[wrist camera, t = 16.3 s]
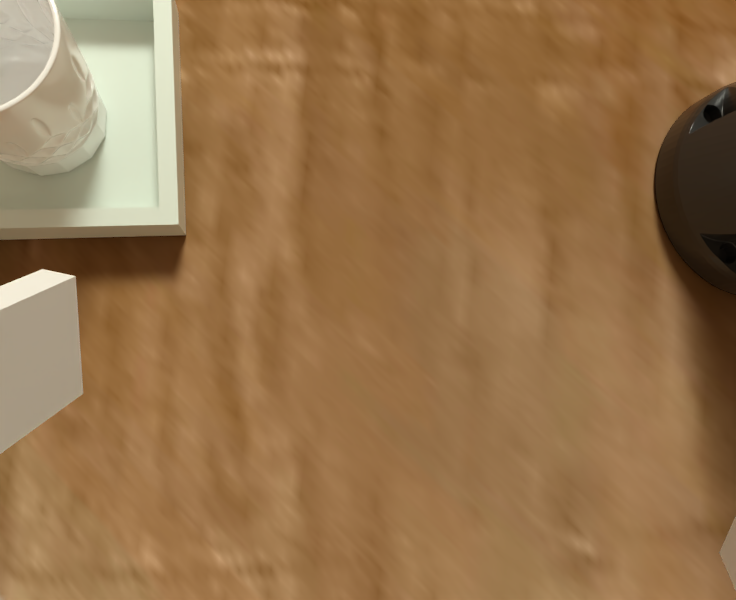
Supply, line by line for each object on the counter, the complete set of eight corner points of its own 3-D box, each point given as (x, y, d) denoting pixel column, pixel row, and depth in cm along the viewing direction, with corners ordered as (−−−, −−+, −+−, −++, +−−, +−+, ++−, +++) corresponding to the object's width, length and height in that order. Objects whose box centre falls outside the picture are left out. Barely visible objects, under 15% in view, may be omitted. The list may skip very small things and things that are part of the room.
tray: (178, 13, 37) (170, -16, 34) (186, 235, 36) (178, 224, 33) (-148, 2, 34) (-188, -32, 31) (-152, 243, 33) (-193, 232, 30)
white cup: (-48, 164, 33) (-180, 84, 23) (-4, 36, 34) (-113, -91, 24) (96, 202, 34) (27, 142, 25) (134, 78, 35) (83, -28, 26)
